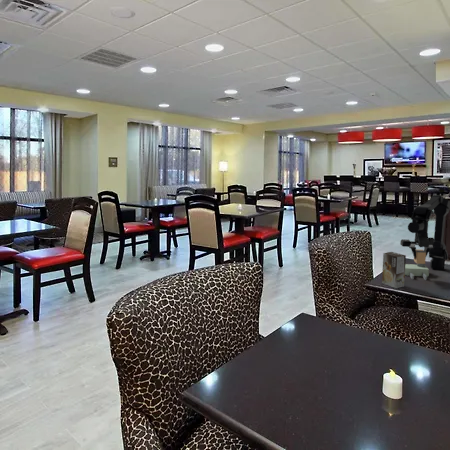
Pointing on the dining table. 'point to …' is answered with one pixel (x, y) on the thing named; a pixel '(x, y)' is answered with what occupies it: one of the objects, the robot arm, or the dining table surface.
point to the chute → (420, 256)
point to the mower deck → (416, 270)
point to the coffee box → (393, 269)
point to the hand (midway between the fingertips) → (419, 259)
